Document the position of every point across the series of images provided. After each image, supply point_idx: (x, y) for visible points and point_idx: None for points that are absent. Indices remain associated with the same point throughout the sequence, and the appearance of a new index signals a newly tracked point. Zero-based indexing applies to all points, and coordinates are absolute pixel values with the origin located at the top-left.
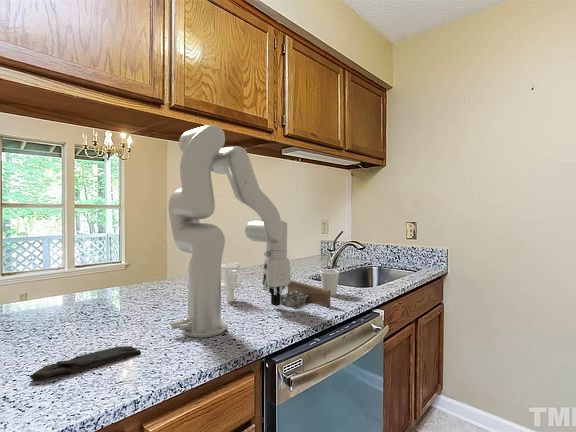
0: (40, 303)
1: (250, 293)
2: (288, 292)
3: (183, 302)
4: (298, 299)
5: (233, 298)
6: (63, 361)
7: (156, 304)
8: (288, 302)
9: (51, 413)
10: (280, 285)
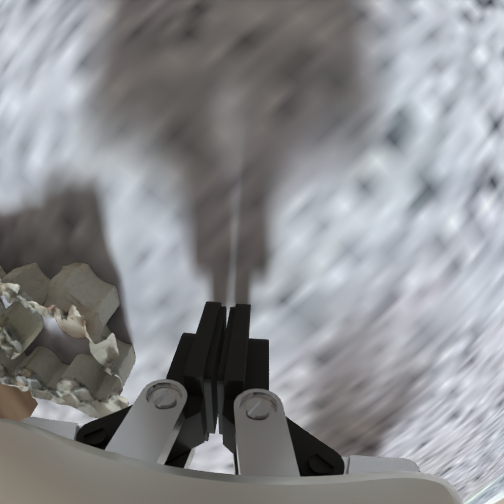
0: (495, 499)
1: None
2: (28, 410)
3: None
4: (13, 281)
5: None
6: None
7: (457, 491)
8: (97, 301)
9: None
10: (194, 486)
